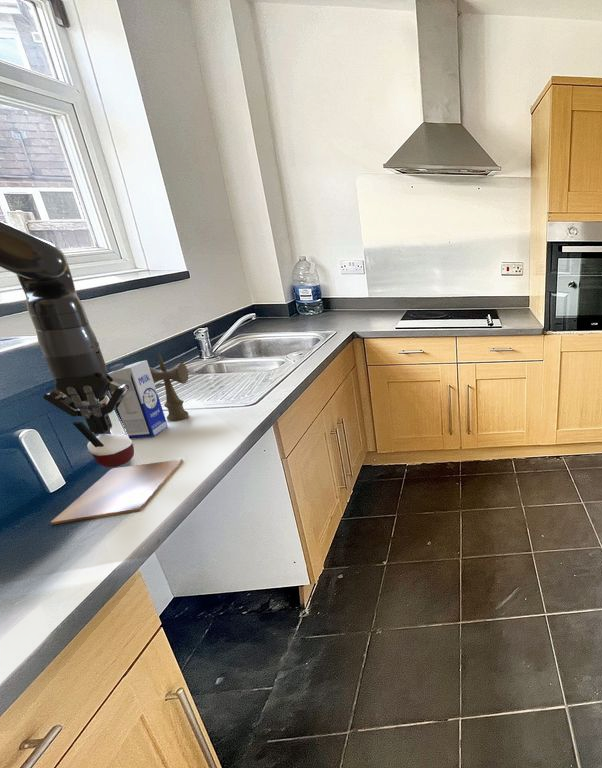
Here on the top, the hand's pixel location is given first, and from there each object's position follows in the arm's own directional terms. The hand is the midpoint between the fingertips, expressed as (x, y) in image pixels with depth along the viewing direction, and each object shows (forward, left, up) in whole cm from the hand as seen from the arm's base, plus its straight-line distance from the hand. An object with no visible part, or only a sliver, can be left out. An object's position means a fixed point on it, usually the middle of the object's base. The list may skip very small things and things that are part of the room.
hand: (103, 432), depth 84 cm
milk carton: (-9, +31, -14) cm, 35 cm away
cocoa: (0, -1, -7) cm, 7 cm away
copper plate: (0, 0, -14) cm, 14 cm away
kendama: (-5, +40, -14) cm, 43 cm away
